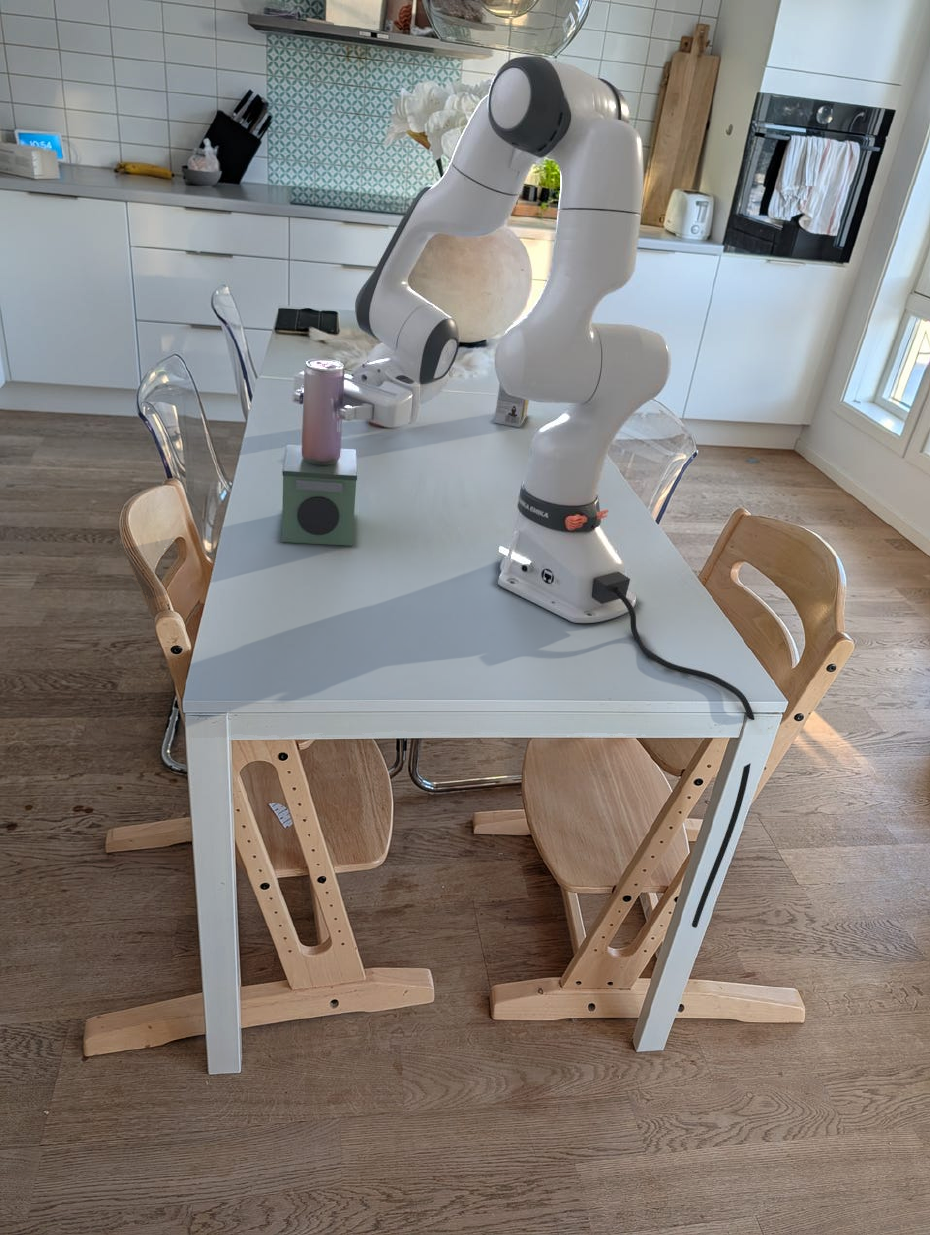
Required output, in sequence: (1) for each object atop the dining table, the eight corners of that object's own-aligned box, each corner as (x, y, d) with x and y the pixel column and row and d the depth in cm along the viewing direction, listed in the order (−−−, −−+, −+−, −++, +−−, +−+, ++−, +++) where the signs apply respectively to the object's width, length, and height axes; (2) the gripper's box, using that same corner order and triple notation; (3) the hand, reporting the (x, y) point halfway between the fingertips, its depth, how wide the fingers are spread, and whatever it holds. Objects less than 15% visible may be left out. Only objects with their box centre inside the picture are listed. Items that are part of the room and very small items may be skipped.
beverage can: (317, 449, 146) (321, 355, 139) (347, 459, 144) (353, 365, 136) (293, 458, 142) (296, 362, 134) (323, 469, 139) (328, 372, 132)
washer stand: (352, 547, 145) (357, 477, 138) (280, 543, 143) (282, 472, 137) (352, 516, 154) (356, 449, 148) (284, 512, 153) (286, 444, 147)
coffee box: (500, 411, 213) (510, 342, 205) (526, 416, 213) (537, 347, 205) (493, 423, 206) (503, 351, 198) (521, 428, 205) (532, 356, 197)
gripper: (328, 354, 151) (268, 368, 140) (428, 386, 142) (373, 403, 132) (326, 392, 154) (268, 408, 144) (424, 425, 145) (370, 445, 135)
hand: (319, 406), depth 138 cm, fingers open, 8 cm apart
